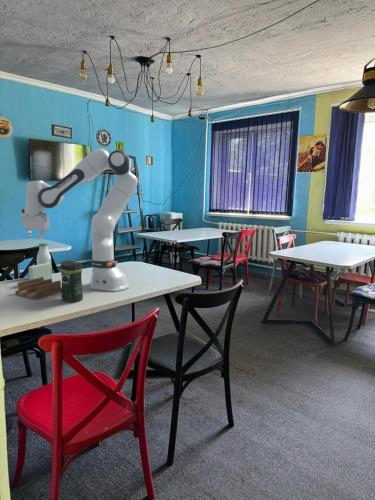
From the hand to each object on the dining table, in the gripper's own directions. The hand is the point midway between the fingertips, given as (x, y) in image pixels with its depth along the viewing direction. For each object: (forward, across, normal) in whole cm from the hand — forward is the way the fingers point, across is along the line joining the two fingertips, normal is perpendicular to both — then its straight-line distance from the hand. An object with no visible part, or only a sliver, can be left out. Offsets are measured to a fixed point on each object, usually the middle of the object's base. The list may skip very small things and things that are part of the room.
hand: (35, 237), depth 182 cm
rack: (+25, -18, +8) cm, 31 cm away
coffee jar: (+24, -38, +5) cm, 45 cm away
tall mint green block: (+25, -2, -2) cm, 25 cm away
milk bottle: (+25, +7, -10) cm, 28 cm away
